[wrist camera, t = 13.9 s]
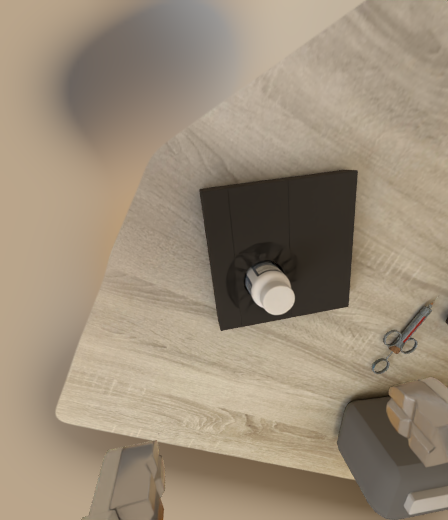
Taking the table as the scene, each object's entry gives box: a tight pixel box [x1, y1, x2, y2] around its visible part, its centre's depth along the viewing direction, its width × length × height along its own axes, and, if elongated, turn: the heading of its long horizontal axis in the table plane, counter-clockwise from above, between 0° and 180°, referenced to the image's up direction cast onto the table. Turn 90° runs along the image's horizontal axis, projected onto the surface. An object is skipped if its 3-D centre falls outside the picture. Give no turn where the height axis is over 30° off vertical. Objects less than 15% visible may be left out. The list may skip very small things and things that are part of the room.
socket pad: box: [200, 170, 358, 331], centre depth 37 cm, size 20×20×3 cm
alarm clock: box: [337, 396, 448, 520], centre depth 48 cm, size 16×11×16 cm
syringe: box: [372, 298, 437, 374], centre depth 48 cm, size 8×18×2 cm, turn 151°
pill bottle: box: [244, 260, 295, 315], centre depth 35 cm, size 5×5×9 cm
